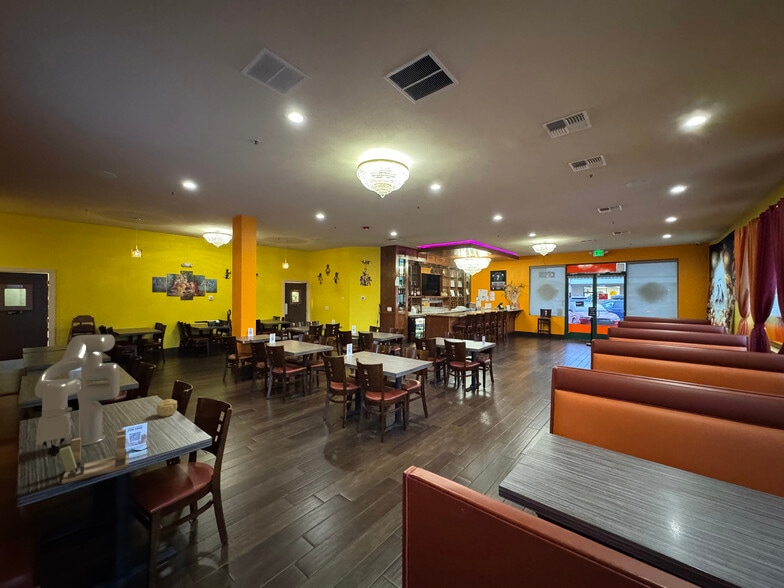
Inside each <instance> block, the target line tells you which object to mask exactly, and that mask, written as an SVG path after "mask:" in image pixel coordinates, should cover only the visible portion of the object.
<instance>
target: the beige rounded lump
mask: <svg viewBox="0 0 784 588" xmlns="http://www.w3.org/2000/svg"><path fill="white" fill-rule="evenodd" d="M177 409H178V400H175V399H172V398H166V399H162V400H161V401H160V402H158V403H157V404H156V414H157V415H158V416H159V417H162V418H166V417H170V415H171V416H173V415H174V414H176V412H177Z"/></svg>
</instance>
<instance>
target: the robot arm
mask: <svg viewBox="0 0 784 588" xmlns="http://www.w3.org/2000/svg"><path fill="white" fill-rule="evenodd" d="M115 344H116V339H115V337H114V336H113V334H83V335H82V334H81V335H76V336H74V337H73V336H72V338H71V339H70V341H69V343H68V345H67V348H66V349H65V353H63V356H62V359H61V360H59V361H58V362H55V363H54V364H52V365H51V366H50V367H48V368H46V369H45V370H44V371H43V372H42V373H41V375H40V376H39V379H38V380H37V382H36V386H35V388H34V394H35V396H36V397H38V398H41V399H42V404H41V406H42V407H41V416H40V417H39V420H38V423H37V428H36V439H35V440H36V442H35V445H36V446H41V445H42V446H45V447H46V448H48V456H50V458H53V457H57V455H58V454H60V452H59V451H60V445H61V444H63V442H65V441H68V440H72V437H73V436H72V435H73V434H72V431H73V428H72V416H71V412H72V411H73V407H71V406H70V407H69V406H68V399H69V397H70V396H74V395H76V394H77V401H78V410H79V411H78V438H81V447H82V446H84V447H85V446H90V445H95V444H98V443H100V442H103V441H105V439H107V438H106V437H107V436H106V434H103V415H104V414H103V411H104V408H103V405H102V404H101V403H100V402H99V401H105V400H113V399H116V398H117V397H118V396H119V394H120V391H121V390H120V389H121V387H120V384H121V382H120V381H121V379H120V378H121V377H120V376H121V375H120V374H121V373H120V372H121V371H120V366H119V364H118V363H115V362H103V354H102V352H103V353H104V352H108V351H110V350H112V349H113V347H114V346H115ZM78 369H80V371H81V372H80V374H81V375H80V376H81V379H82V381H83V382H86V384H83V385H82V381H81V380H80V379H79V378H69V377H68V378H58V377H60V376H62V375H63V374H67V373H70V372H73V371H76V370H78ZM56 378H57V379H56ZM101 381H102V382H101ZM104 381H106V382H104ZM87 382H88V383H87ZM89 382H91V383H89ZM93 382H94V383H93ZM70 411H71V412H70ZM53 441H56V442H55V444H54V442H53Z"/></svg>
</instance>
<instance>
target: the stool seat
mask: <svg viewBox="0 0 784 588" xmlns="http://www.w3.org/2000/svg"><path fill="white" fill-rule="evenodd" d="M126 431H127V429H126V428H125V429H119V430H117V437H116V451H115V456H110V457H106V458H102V459H98V460H93V461H89V462H85V463H82V462H83V461H82V458H81V457H82V446H81V438H79V437H76V438H73V439H72V438H71V441H70V447H71V450H72V453H73V456H74V459H75V462H76V465H77V467H76V469H74V470H76V472H73V473H70V471H69V472H66V471H65V472H64V474H63V477H62V480H61V484H62V485H63V484H68V483H72V482H76V481H80V480H84V479H88V478H92V477H97V476H100V475H105V474H109V473H112V472H117V471H120V470H121V471H122V470H124V469H129V468H130V467H129V466H130V453H129V454H128V453H127V449H126V437H127V436H126V435H127V434H126V433H127V432H126ZM126 454H127V455H126Z"/></svg>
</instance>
